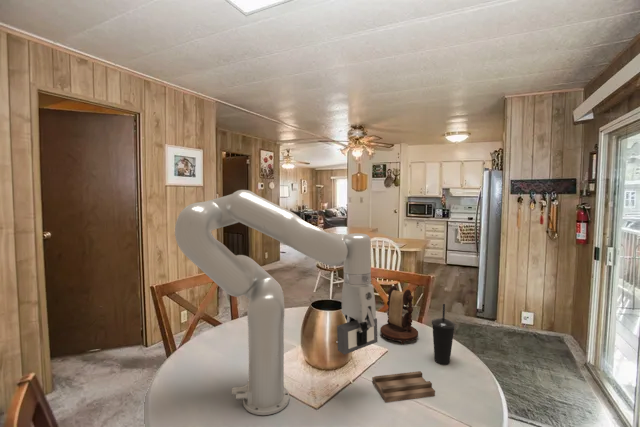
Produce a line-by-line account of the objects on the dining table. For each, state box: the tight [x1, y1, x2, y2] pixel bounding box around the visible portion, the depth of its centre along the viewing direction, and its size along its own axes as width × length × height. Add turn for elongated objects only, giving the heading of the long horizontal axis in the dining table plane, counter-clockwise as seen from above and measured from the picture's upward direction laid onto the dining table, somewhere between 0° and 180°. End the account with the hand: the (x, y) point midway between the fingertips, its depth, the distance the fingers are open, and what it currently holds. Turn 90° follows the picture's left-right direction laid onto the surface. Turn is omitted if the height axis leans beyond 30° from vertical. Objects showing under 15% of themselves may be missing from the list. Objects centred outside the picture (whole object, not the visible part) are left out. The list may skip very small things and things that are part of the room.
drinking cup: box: [431, 303, 456, 366], centre depth 112 cm, size 8×8×20 cm
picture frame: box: [336, 317, 378, 356], centre depth 93 cm, size 12×3×7 cm, turn 123°
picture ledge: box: [371, 370, 436, 403], centre depth 97 cm, size 15×10×3 cm, turn 102°
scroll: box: [380, 285, 419, 345], centre depth 131 cm, size 15×15×20 cm
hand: (357, 341), depth 93 cm, fingers closed on picture frame, 3 cm apart
